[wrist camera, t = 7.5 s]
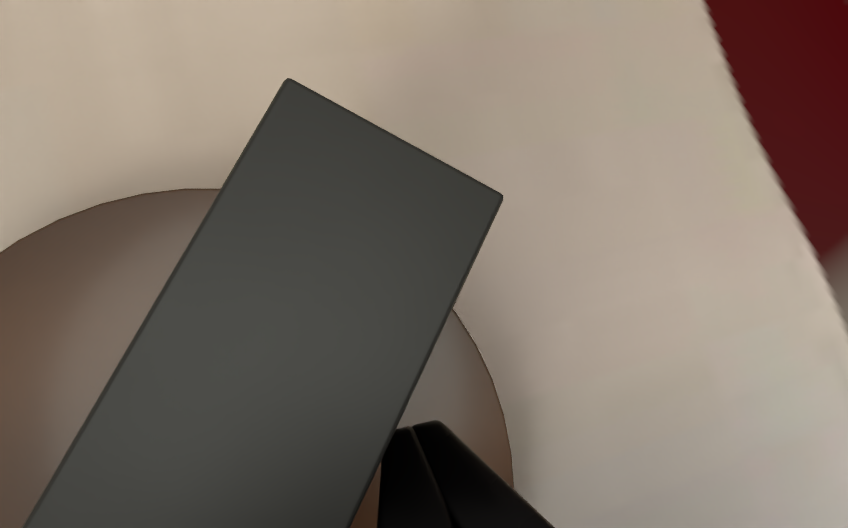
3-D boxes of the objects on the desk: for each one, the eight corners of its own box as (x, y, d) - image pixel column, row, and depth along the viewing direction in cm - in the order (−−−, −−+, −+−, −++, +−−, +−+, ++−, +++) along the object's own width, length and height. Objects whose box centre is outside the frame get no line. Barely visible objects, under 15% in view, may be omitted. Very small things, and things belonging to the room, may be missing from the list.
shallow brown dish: (607, 434, 17) (621, 436, 16) (246, 989, 13) (244, 1022, 12) (180, 81, 16) (176, 68, 15) (-324, 579, 12) (-358, 591, 12)
